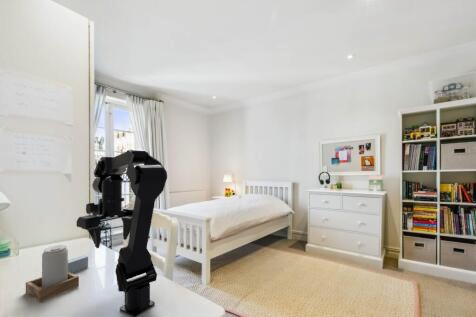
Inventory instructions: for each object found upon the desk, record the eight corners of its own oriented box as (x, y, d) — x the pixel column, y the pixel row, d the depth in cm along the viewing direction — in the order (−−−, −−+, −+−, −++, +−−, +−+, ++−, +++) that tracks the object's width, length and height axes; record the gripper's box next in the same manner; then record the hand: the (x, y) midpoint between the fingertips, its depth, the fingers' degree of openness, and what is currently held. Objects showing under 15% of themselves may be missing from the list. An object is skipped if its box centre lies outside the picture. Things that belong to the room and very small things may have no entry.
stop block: (88, 267, 89) (88, 256, 89) (63, 276, 82) (63, 264, 82) (83, 265, 91) (83, 255, 91) (59, 274, 84) (59, 262, 84)
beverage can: (41, 294, 70) (41, 253, 70) (42, 285, 75) (42, 247, 75) (67, 287, 73) (68, 248, 74) (67, 279, 78) (67, 243, 79)
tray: (78, 286, 75) (78, 276, 75) (40, 302, 67) (40, 291, 67) (63, 278, 80) (63, 269, 80) (25, 292, 72) (25, 282, 72)
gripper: (123, 190, 89) (123, 232, 89) (67, 197, 73) (66, 248, 73) (142, 192, 83) (142, 237, 83) (86, 199, 67) (86, 255, 67)
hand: (111, 243), depth 77 cm, fingers open, 9 cm apart
